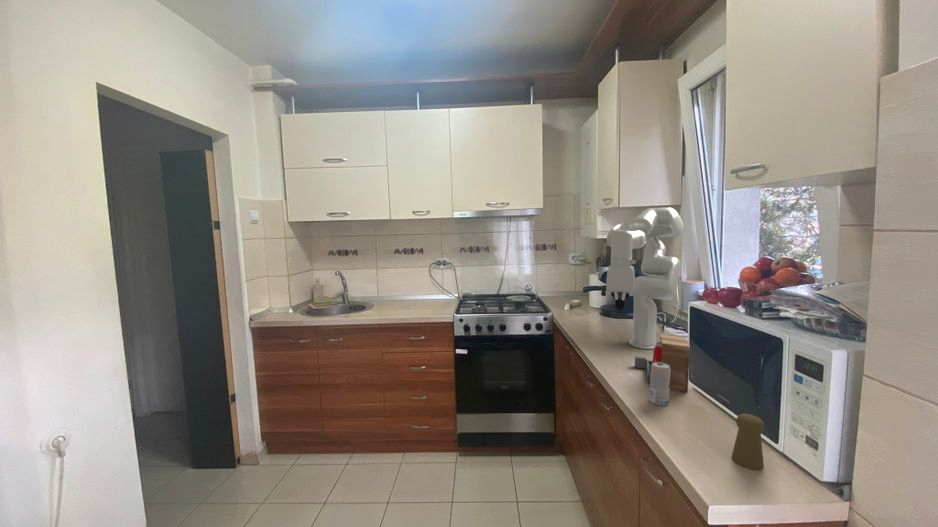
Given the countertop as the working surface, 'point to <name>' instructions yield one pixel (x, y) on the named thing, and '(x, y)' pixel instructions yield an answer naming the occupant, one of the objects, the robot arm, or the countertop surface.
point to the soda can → (657, 352)
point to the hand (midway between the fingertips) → (619, 309)
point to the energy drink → (660, 383)
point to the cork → (749, 442)
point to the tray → (644, 365)
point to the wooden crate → (676, 360)
